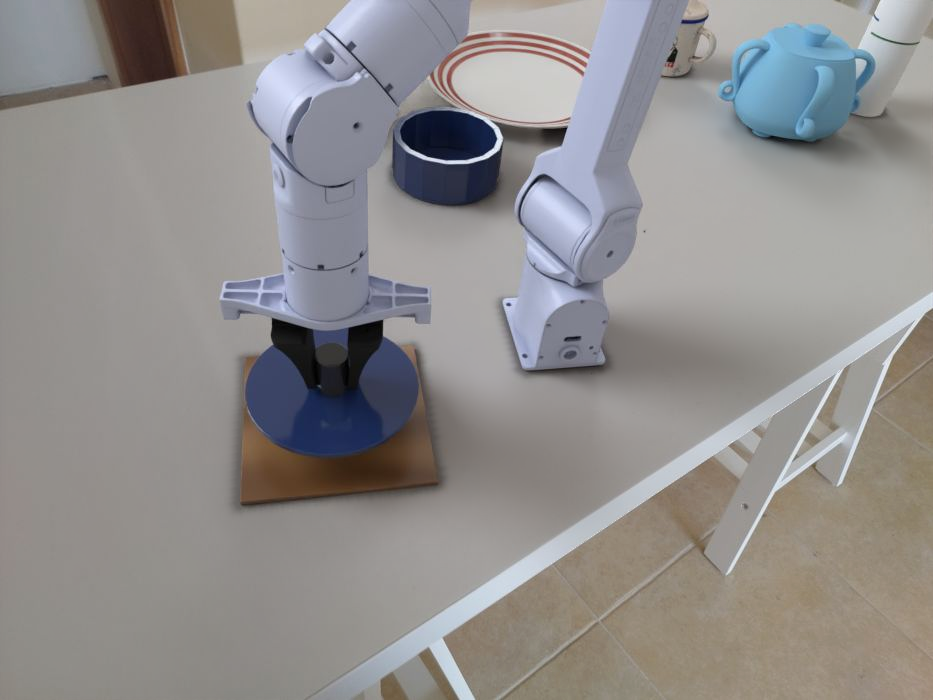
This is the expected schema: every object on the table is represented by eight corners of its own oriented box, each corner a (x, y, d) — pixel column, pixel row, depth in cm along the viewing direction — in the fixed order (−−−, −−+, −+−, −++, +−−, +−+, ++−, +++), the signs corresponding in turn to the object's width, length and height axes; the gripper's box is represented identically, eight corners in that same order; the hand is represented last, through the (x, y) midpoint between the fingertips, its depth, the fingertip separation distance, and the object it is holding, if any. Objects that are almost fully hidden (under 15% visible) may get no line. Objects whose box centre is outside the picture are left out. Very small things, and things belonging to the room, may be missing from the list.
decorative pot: (789, 166, 97) (836, 66, 87) (697, 111, 106) (731, 14, 96) (858, 136, 105) (908, 41, 95) (767, 87, 113) (805, -5, 103)
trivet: (437, 484, 58) (438, 481, 58) (240, 504, 55) (239, 502, 55) (413, 348, 68) (413, 345, 68) (245, 359, 65) (245, 356, 65)
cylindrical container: (872, 95, 114) (964, -84, 96) (889, 118, 109) (990, -67, 91) (827, 91, 114) (911, -90, 96) (843, 114, 109) (934, -72, 91)
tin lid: (417, 335, 65) (419, 296, 61) (419, 463, 55) (422, 425, 52) (258, 332, 63) (252, 292, 60) (233, 463, 54) (224, 424, 51)
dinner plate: (624, 155, 95) (630, 132, 93) (413, 132, 95) (414, 108, 92) (608, 61, 114) (613, 40, 112) (433, 42, 114) (435, 20, 112)
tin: (507, 203, 86) (513, 162, 82) (399, 206, 83) (400, 165, 79) (486, 145, 94) (490, 106, 90) (387, 147, 92) (388, 107, 88)
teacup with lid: (622, 61, 115) (641, -17, 107) (653, 46, 120) (674, -29, 112) (687, 91, 110) (713, 11, 101) (718, 74, 115) (744, -3, 106)
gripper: (433, 211, 52) (424, 345, 62) (221, 203, 50) (246, 341, 60) (436, 276, 47) (426, 410, 57) (202, 269, 46) (233, 408, 55)
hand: (333, 380), depth 58 cm, fingers closed on tin lid, 2 cm apart
